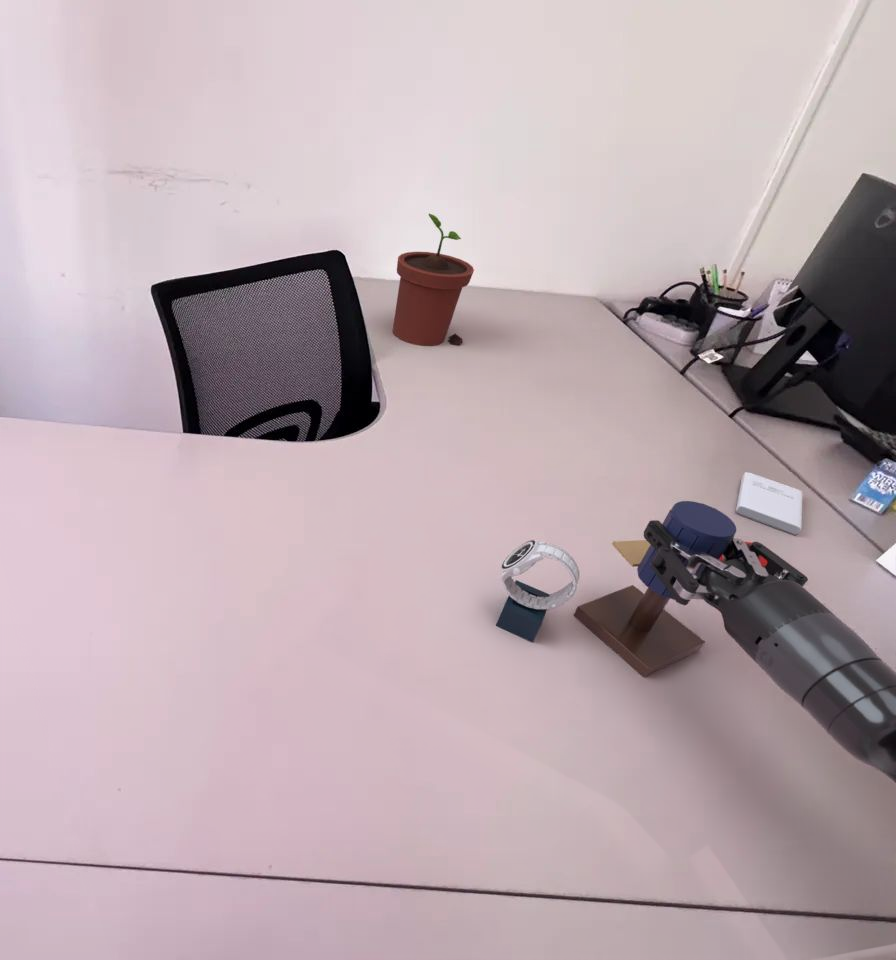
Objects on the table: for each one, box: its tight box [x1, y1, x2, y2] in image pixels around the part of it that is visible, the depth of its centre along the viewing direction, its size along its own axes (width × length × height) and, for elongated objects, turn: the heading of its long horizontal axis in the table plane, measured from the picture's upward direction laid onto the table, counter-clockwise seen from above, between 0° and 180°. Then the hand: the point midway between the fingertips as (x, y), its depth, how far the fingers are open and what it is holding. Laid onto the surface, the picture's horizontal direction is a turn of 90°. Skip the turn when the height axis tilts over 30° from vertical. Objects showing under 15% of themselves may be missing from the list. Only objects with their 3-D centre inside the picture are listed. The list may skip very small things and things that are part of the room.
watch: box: [495, 539, 580, 643], centre depth 77 cm, size 6×8×11 cm
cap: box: [611, 500, 737, 601], centre depth 74 cm, size 10×6×9 cm, turn 9°
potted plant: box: [392, 213, 475, 347], centre depth 144 cm, size 18×22×25 cm
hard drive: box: [735, 471, 803, 536], centre depth 105 cm, size 2×8×12 cm
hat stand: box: [573, 584, 706, 678], centre depth 76 cm, size 10×10×15 cm
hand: (675, 525), depth 74 cm, fingers closed on cap, 6 cm apart
